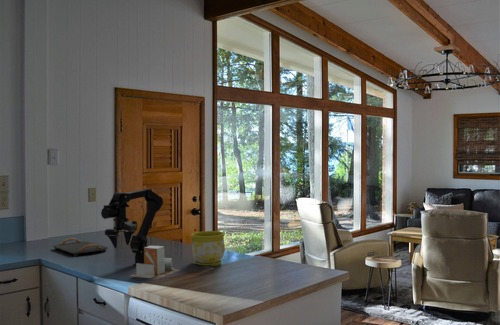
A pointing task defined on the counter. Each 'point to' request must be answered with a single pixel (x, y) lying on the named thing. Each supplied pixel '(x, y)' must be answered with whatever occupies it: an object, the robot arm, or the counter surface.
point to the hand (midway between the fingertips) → (121, 246)
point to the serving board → (79, 247)
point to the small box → (155, 258)
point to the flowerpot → (208, 247)
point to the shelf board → (160, 274)
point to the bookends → (151, 268)
